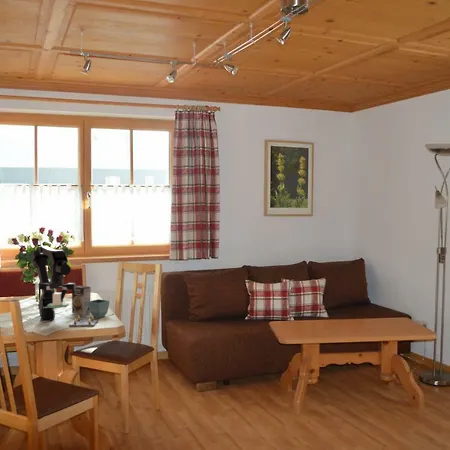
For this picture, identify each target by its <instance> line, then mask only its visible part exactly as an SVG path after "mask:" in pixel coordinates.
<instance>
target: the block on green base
mask: <svg viewBox="0 0 450 450" xmlns="http://www.w3.org/2000/svg"><path fill="white" fill-rule="evenodd" d="M61 295H62V292H55V293H54V294H53V303H50V304H48V305H47V307H50V308H54V309H61V308H66V307H68V306H69V303H66V302H64V301H63V302H61Z"/></svg>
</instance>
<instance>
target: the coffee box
mask: <svg viewBox="0 0 450 450" xmlns="http://www.w3.org/2000/svg"><path fill="white" fill-rule="evenodd" d="M89 301H91V286H86V285H76V288H75V289H71V313H72V314H73V315H77V316H86V315H91V313H90V310H89V305H88V302H89Z"/></svg>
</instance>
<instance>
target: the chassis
mask: <svg viewBox="0 0 450 450" xmlns="http://www.w3.org/2000/svg"><path fill="white" fill-rule="evenodd" d="M80 316H81V315H77V318H73V321H71V322H70V323H69V324H68V327H69V326H70V327H71V328H73V327H74V328H75V327H76V328H77V327H78V328H79V327H81V328H82V327H83V328H85V327H88V328H89V327H91V328H92V327H95V326H96V325H97V324H98V323H99V319H95V317H94V316H92V315H91V318H88V319H85V318H84V319H81V317H80ZM70 327H69V328H70Z"/></svg>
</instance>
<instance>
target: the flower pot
mask: <svg viewBox="0 0 450 450" xmlns="http://www.w3.org/2000/svg"><path fill="white" fill-rule="evenodd" d="M88 305H89V310H90V315H91V317H92V316H94V318H102V317H106V315H107V313H108V311H109V306H110V300H106V299H101V298H100V299H99V298H98V299H94V300H90V301H89V302H88Z"/></svg>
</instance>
